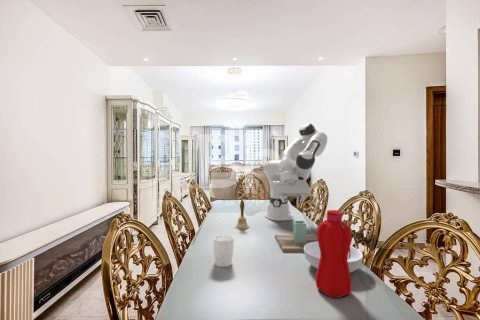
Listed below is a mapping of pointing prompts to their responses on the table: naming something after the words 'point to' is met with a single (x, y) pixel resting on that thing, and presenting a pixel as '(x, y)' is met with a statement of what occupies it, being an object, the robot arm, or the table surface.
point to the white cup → (223, 250)
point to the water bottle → (334, 255)
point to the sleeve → (299, 231)
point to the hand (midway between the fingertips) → (293, 202)
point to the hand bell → (242, 218)
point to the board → (293, 243)
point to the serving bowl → (314, 256)
